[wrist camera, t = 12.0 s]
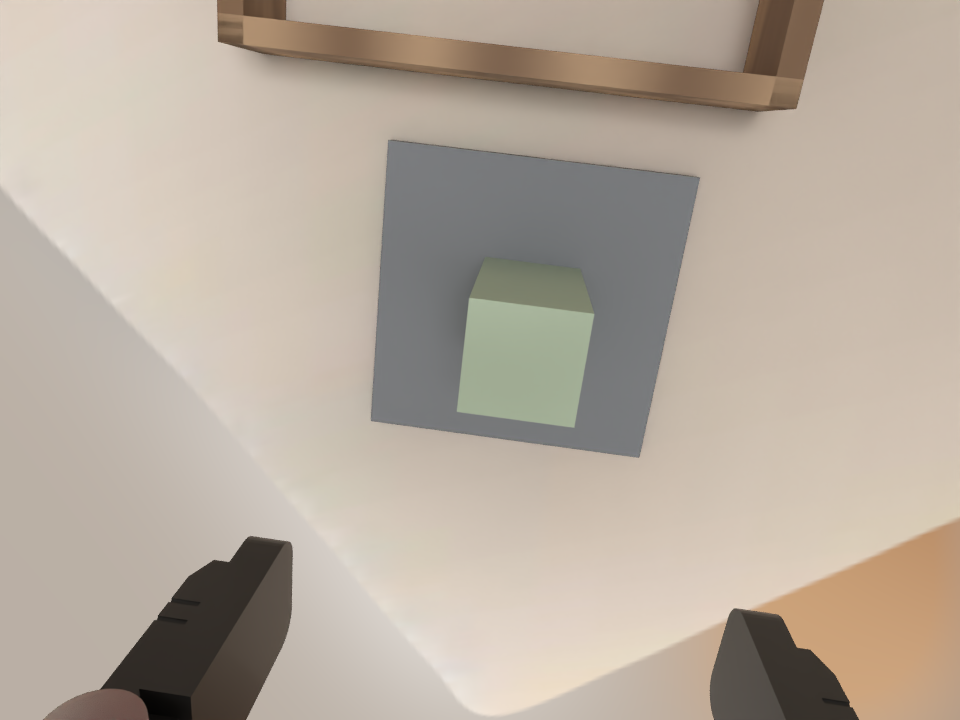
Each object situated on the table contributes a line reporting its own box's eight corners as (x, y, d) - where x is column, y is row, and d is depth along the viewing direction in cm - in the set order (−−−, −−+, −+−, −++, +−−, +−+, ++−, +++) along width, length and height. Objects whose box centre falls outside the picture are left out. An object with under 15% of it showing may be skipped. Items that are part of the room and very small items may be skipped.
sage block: (580, 268, 31) (594, 313, 24) (565, 358, 33) (574, 427, 25) (485, 256, 31) (469, 297, 24) (474, 346, 33) (456, 411, 25)
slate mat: (696, 176, 30) (699, 177, 29) (637, 452, 35) (639, 457, 34) (391, 139, 31) (388, 140, 30) (373, 416, 35) (370, 420, 35)
